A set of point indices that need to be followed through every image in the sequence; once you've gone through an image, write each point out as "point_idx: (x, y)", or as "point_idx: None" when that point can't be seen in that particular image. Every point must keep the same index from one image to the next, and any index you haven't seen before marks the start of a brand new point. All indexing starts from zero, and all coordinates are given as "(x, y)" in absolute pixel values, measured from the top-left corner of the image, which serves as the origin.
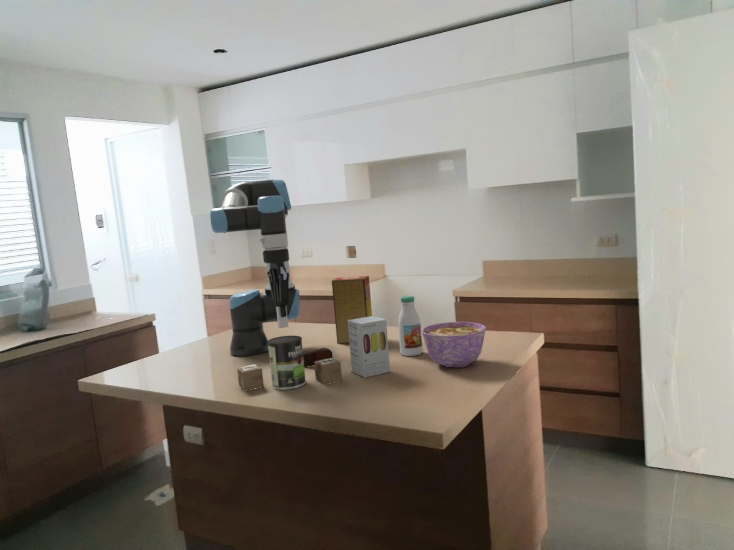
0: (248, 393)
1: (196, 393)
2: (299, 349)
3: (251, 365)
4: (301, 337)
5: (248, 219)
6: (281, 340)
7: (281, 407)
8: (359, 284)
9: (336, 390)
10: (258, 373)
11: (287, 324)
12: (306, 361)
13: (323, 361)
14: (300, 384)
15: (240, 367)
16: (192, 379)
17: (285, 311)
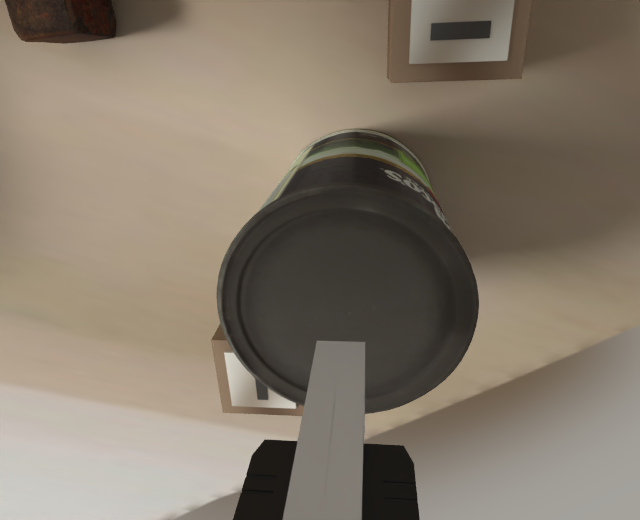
0: None
1: (228, 467)
2: (444, 219)
3: (231, 365)
4: (386, 194)
5: None
6: (346, 334)
7: (608, 322)
8: None
9: (626, 53)
10: None
11: (363, 362)
12: (103, 22)
13: (456, 36)
14: (428, 179)
15: (233, 405)
16: (55, 443)
17: (417, 511)
